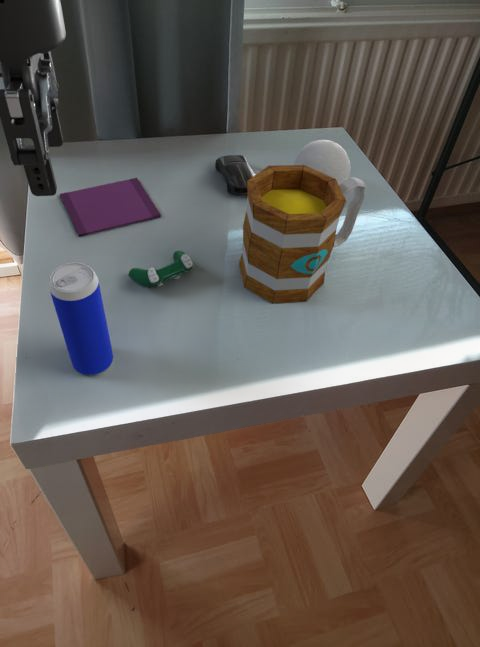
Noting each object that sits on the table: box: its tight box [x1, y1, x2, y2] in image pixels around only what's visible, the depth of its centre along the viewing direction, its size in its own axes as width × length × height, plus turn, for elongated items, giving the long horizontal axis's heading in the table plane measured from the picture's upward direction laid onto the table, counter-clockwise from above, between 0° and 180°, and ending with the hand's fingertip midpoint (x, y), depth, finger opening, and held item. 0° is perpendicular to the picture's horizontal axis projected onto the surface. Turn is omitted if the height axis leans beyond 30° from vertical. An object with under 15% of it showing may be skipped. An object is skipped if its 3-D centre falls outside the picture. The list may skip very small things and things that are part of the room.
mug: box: [238, 164, 366, 304], centre depth 74 cm, size 20×14×15 cm
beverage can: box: [48, 262, 114, 376], centre depth 59 cm, size 5×5×15 cm
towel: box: [59, 177, 162, 237], centre depth 86 cm, size 14×12×1 cm
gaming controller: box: [127, 249, 194, 289], centre depth 75 cm, size 9×4×6 cm
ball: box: [293, 139, 351, 185], centre depth 90 cm, size 10×10×10 cm
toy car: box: [214, 154, 257, 195], centre depth 93 cm, size 6×12×4 cm, turn 19°
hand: (49, 168), depth 49 cm, fingers open, 8 cm apart
